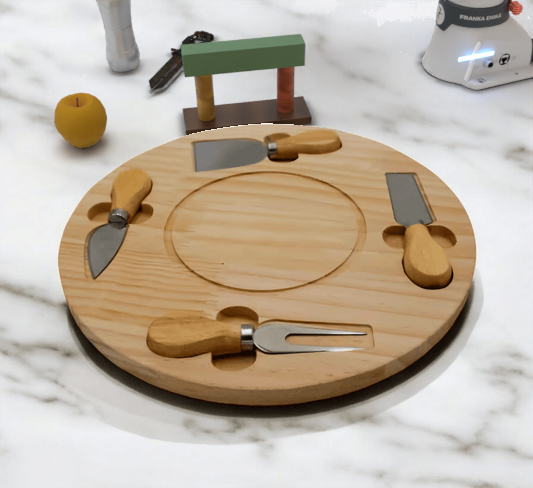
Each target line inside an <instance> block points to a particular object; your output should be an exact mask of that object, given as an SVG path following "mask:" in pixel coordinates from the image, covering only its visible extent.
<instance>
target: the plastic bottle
mask: <svg viewBox="0 0 533 488" xmlns="http://www.w3.org/2000/svg"><path fill="white" fill-rule="evenodd" d="M131 1H132V0H95V2H96V5H97V7H98V11H99V14H100V17H101V21H102V25H103V29H104V37H105V58H106V61H107V64H108V66H109V68H111V69H112V70H113V71H115V72H121V73H125V72H130V71H133V70H134V69H136V68H137V67H138V66H139V63H140V61H141V53H140V50H139V49H140V48H139V45H138V43H137V41H136V36H135V32H134V29H133V21H132V20H133V19H132V2H131Z"/></svg>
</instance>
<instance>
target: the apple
mask: <svg viewBox="0 0 533 488" xmlns="http://www.w3.org/2000/svg"><path fill="white" fill-rule="evenodd" d="M53 120H54V121H53V123H54V126H55V128H56V131H57V132H58V133H59V134H60V136H61V137H62V138H63V139H64V140H65V141H66V142H67V143H69V144H70V145H71V146H72V147H74V148H78V149H85V148H89V147H92V146H94V145H96V144H98V143H99V142H100V140H101V139H102V138H103V136H104V134H105V132H106V129H107V124H108V115H107V111H106V108H105V106H104V104H103V103H102V101H101V100H100V99H99V98H98V97H97V96H96V95H93V94H91V93H87V92H77V93H76V92H75V93H72V94H68V95H66V96H63V97H61V98H60V100H59V101H58V102H57V104H56V106H55V109H54V119H53Z"/></svg>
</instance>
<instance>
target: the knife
mask: <svg viewBox="0 0 533 488" xmlns="http://www.w3.org/2000/svg"><path fill="white" fill-rule="evenodd" d="M214 39H215V36H214V34H213V33H211V32H208V31H205V30H196V31H194V32H193V34H190V35H187V36H186V37H185V38H184V39H183V40H182V41H181V44H180V45H179V46H180V47H179V48H173V47H171V48H170V51H171V57H170V58H169V59H168V60H167V61H166V62H165V63H164V64H163V65H162V66H161V67H160V69H158V71H157V72H156V73H155V74H153V76H152V77H151V78H150V79H148V85H149V89H150V90H151V91H150V95H152V94H154V93H157V92H160V91H163V90H165V89H166V88H167V87H168V86H169V85H170V84H171V83H172V82H173V81H174V80H175V79H176V78H177V76H179V74H180V73H181V72H183V71H184V70H183V62H182V53H181V45H185V44H196V43H197V42H196V41H198V43H207V42H212V41H213V40H214Z"/></svg>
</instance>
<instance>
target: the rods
mask: <svg viewBox="0 0 533 488" xmlns="http://www.w3.org/2000/svg"><path fill="white" fill-rule="evenodd" d="M295 68H296V67H287V68H276V98H271V99H261V100H252V101H241V102H233V103H232V102H231V103H224V104H223V103H222V104H215V93H214V80H213V78H214V77H213V75H204V76H194V89H195V97H196V106H195V107H183V108H182V115H183V123H184V129H185V136H186V135H189V134H192V133H197V132H201V131H205V130H211V129H217V128H223V127H230V126H238V125H248V124H261V123H273V124H294V125H298V126H307V125H312V119H313V118H312V115H311V112H310V109H309V107H308V104H307V102H306V99H305V97H304V96H303V95H301V96H300V95H299V96H295V77H296V75H295V74H296V73H295V71H296V69H295Z"/></svg>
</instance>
